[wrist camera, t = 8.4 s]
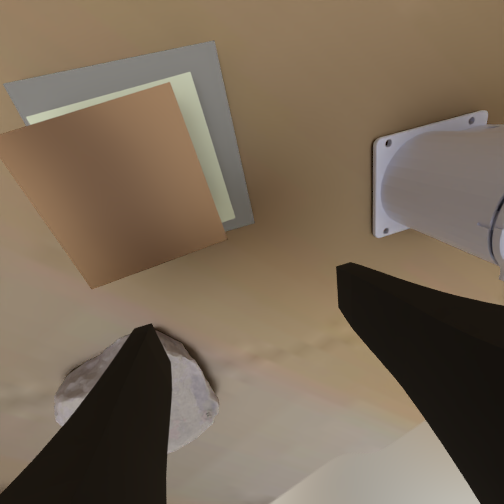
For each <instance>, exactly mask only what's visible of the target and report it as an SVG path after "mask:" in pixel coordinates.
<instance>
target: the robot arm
mask: <svg viewBox="0 0 504 504" xmlns="http://www.w3.org/2000/svg"><path fill="white" fill-rule="evenodd" d="M469 119H470V120H469ZM487 119H488V112H487V111H486V110H481V111H476V112H472V113H469V114H465V115H461V116H458V117H454V118H450V119H446V120H443V121H439V122H435V123H431V124H428V125H424V126H420V127H417V128H413V129H409V130H405V131H402V132H398V133H394V134H390V135H387V136H383V137H379V138H377V139H376V140H375V142H374V144H373V235H374V236H375V237H377V238H381V237H384V236H387V235H391V234H394V233H397V232H400V231H403V230H406V229H409V228H412V229H414V230H416V231H419V232H421V233H423V234H425V235H428V236H430V237H432V238H435V239H437V240H439V241H442V242H444V243H446V244H449V245H451V246H453V247H456V248H458V249H460V250H463V251H465V252H467V253H470V254H472V255H474V256H476V257H479V258H481V259H483V260H486V261H488V262H490V263H493V264H495V265H497V266H500V275H499V279H500V280H502V281H504V124H487ZM387 140H388V145H387V146H386V145H385V144H386V141H387ZM384 229H385V231H384ZM383 231H384V232H383ZM336 271H337V289H338V306H339V309H340V310H341V312H342V314H343V315H344V317H345V318H346V320H347V321H348V323H349V324H350V326H351V327H352V329H353V330H354V331H355V332H356V333H357V335H358V336H359V337H360V338H361V339H362V340H363V342H364V343H365V344H366V345H367V346H368V347H369V349H370V350H371V351H372V352H373V353H374V354H375V355H376V357H377V358H378V359H379V360H380V361H381V362H382V363H383V365H384V366H385V367H386V368H387V369H388V370H389V372H390V373H391V374H392V375H393V376H394V377H395V379H396V380H397V381H398V382H399V384H400V385H401V386H402V387H403V389H404V390H405V391H406V393H407V394H408V396H409V397H410V398H411V400H412V401H413V403H414V404H415V405H416V407H417V408H418V410H419V411H420V412H421V414H422V415H423V417H424V418H425V420H426V421H427V422H428V424H429V425H430V427H431V428H432V430H433V431H434V433H435V434H436V436H437V437H438V438H439V440H440V441H441V443H442V444H443V446H444V447H445V449H446V450H447V452H448V453H449V455H450V457H451V458H452V460H453V461H454V463H455V464H456V466H457V467H458V469H459V470H460V472H461V473H462V474H463V476H464V478H465V480H466V481H467V483H468V484H469V486H470V488H471V489H472V491H473V492H474V494H475V496H476V497H477V499H478V500H479V502H480V504H504V306H502V305H497V304H492V303H487V302H482V301H478V300H473V299H469V298H465V297H460V296H456V295H452V294H448V293H445V292H441V291H438V290H434V289H431V288H427V287H424V286H421V285H417V284H414V283H411V282H408V281H405V280H402V279H399V278H396V277H393V276H390V275H387V274H385V273H382V272H379V271H376V270H373V269H370V268H367V267H365V266H362V265H358V264H355V263H352V262H350V263H346V264H343V265H340V266H337V267H336ZM171 401H172V372H171V361H170V359H169V357H168V355H167V353H166V351H165V349H164V347H163V345H162V343H161V341H160V339H159V337H158V335H157V333H156V331H155V329H154V327H153V325H152V323H151V324H148V325H145V326H141V327H138V328H135V329H134V330H133V331H132V333H131V334H130V336H129V337H128V338H127V340H126V341H125V343H124V344H123V346H122V347H121V349H120V350H119V352H118V353H117V354H116V356H115V357H114V359H113V360H112V362H111V363H110V365H109V366H108V367H107V369H106V370H105V372H104V373H103V374H102V376H101V377H100V379H99V380H98V382H97V383H96V384H95V385H94V387H93V388H92V389H91V391H90V392H89V393H88V395H87V396H86V397H85V399H84V400H83V401H82V403H81V404H80V405H79V406H78V408H77V409H76V410H75V412H74V413H73V414H72V415H71V417H70V418H69V419H68V420H67V422H66V423H65V424H64V425H63V426H62V428H61V429H60V430H59V431H58V432H57V434H56V435H55V436H54V437H53V438H52V439H51V440H50V442H49V443H48V444H47V445H46V446H45V447H44V448H43V450H42V451H41V452H40V453H39V454H38V455H37V456H36V457H35V459H34V460H33V461H32V462H31V463H30V464H29V465H28V466H27V467H26V468H25V469H24V470H23V471H22V472H21V473H20V474H19V476H18V477H17V478H16V479H15V480H14V481H13V482H12V483H11V484H10V485H9V486H8V487H7V488H6V489H5V490H4V491H3V492H2V493H1V494H0V504H166V468H167V452H168V439H169V427H170V415H171Z"/></svg>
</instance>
